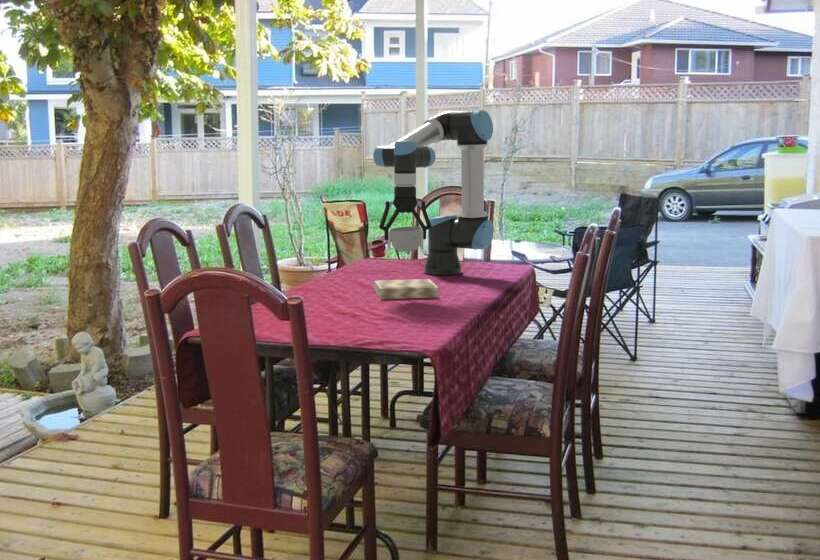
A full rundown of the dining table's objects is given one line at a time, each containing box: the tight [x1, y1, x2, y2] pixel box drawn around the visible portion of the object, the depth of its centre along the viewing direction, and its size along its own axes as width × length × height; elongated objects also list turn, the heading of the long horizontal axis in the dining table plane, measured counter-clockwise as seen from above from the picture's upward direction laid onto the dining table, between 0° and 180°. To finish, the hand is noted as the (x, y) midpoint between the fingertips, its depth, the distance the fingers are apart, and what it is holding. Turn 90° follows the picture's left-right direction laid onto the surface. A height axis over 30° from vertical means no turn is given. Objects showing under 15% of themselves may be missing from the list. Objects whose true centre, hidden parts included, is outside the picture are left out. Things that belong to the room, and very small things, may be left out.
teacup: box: [389, 226, 422, 252], centre depth 307 cm, size 14×11×8 cm
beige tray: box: [374, 278, 439, 300], centre depth 309 cm, size 20×18×4 cm
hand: (405, 249), depth 307 cm, fingers closed on teacup, 11 cm apart
